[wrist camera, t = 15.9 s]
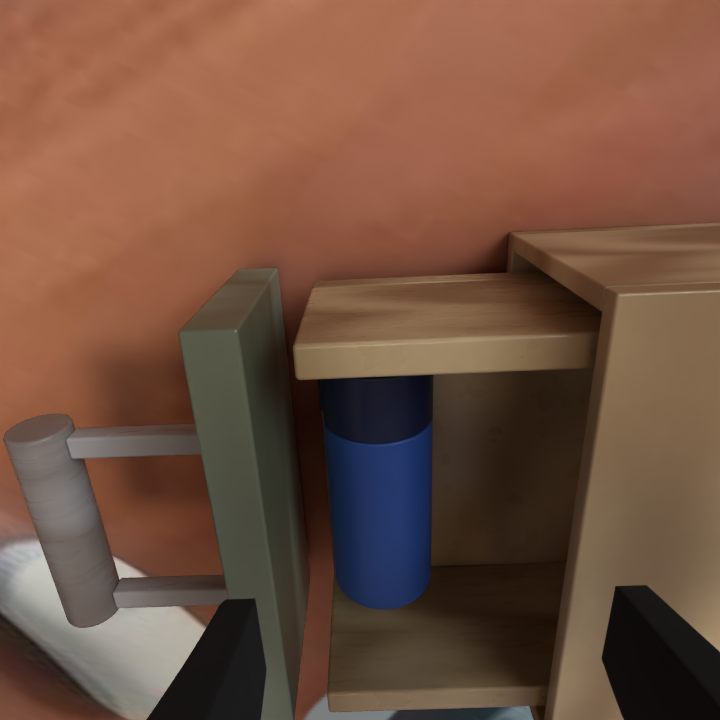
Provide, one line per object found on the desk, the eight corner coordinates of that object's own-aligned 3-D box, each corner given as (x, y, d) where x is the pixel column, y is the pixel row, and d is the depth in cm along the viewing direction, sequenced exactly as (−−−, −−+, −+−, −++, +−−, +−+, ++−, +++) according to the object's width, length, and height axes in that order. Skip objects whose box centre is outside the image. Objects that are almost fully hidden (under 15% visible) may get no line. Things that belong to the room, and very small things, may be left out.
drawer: (141, 581, 20) (66, 732, 15) (58, 276, 15) (-92, 342, 10) (615, 564, 19) (706, 713, 14) (675, 249, 15) (839, 303, 10)
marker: (446, 573, 17) (402, 643, 15) (364, 538, 19) (312, 596, 16) (452, 345, 14) (397, 388, 12) (353, 328, 15) (288, 362, 13)
